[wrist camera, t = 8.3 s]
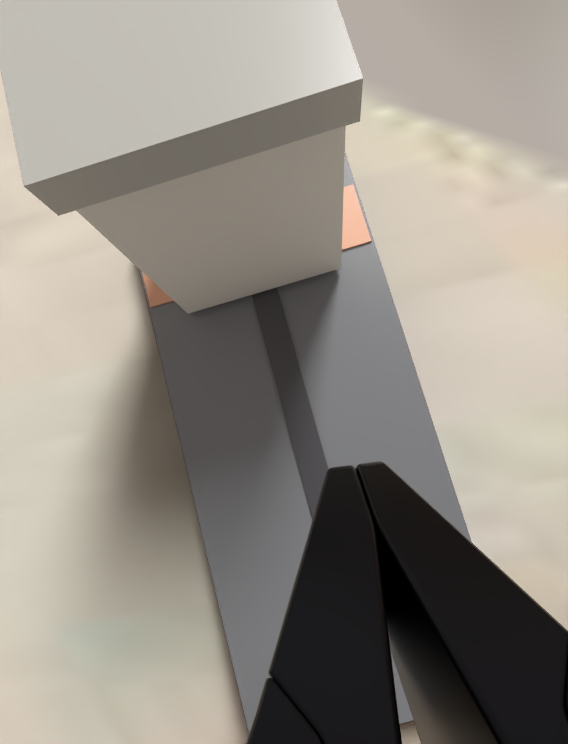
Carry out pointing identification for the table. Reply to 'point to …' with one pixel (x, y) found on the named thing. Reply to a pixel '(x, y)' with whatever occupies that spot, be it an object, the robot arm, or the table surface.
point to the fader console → (291, 427)
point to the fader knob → (189, 132)
